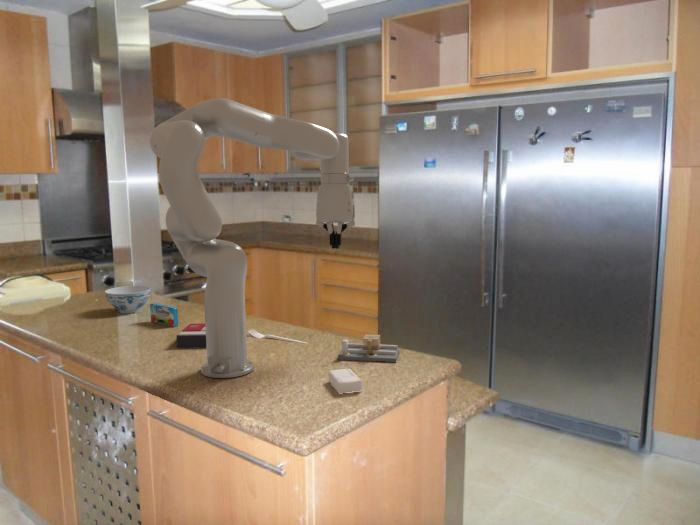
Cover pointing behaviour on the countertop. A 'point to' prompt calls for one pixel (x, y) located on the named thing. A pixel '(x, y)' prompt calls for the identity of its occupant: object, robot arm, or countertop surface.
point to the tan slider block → (371, 343)
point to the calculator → (192, 336)
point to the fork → (271, 336)
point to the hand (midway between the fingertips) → (335, 247)
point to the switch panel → (357, 353)
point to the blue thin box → (164, 314)
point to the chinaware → (128, 297)
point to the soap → (344, 380)
